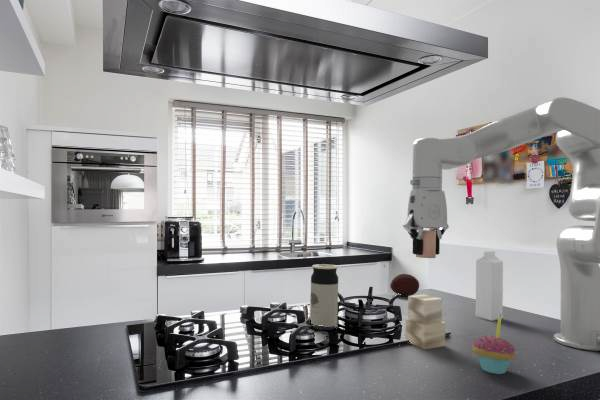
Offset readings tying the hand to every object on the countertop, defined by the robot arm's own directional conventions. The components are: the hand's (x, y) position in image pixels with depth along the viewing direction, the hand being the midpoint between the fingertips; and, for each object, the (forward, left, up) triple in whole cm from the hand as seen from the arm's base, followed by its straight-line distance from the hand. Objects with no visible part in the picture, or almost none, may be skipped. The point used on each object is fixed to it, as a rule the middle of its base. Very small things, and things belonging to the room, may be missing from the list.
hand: (425, 253), depth 106 cm
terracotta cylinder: (0, 0, -1) cm, 1 cm away
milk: (+13, -40, -24) cm, 48 cm away
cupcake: (-20, -1, -24) cm, 31 cm away
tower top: (0, 0, -18) cm, 18 cm away
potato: (+51, -37, -24) cm, 67 cm away
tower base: (0, 0, -24) cm, 24 cm away
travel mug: (+22, +18, -24) cm, 37 cm away
